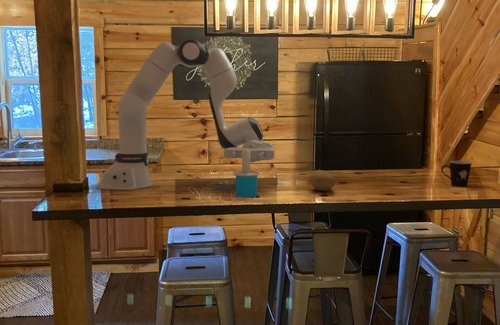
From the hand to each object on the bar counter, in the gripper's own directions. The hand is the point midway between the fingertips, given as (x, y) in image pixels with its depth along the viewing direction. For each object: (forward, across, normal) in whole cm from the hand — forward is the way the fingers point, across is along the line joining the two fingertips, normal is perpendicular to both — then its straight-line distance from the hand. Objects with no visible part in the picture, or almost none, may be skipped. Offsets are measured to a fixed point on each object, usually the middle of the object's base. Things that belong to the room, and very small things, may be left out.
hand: (246, 155), depth 205 cm
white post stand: (+1, 0, +7) cm, 7 cm away
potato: (-12, +29, +16) cm, 35 cm away
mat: (-11, -9, +15) cm, 21 cm away
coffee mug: (-33, +85, +16) cm, 93 cm away
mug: (+1, 0, +16) cm, 16 cm away
